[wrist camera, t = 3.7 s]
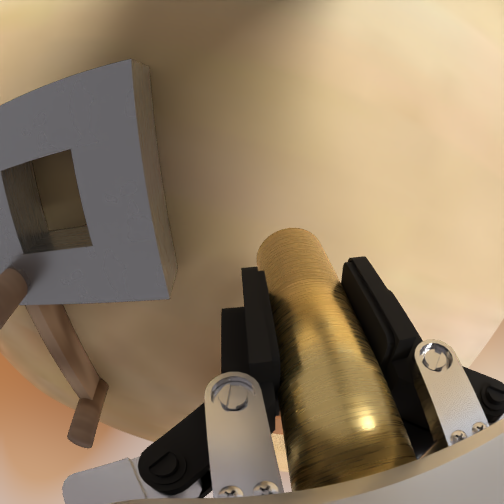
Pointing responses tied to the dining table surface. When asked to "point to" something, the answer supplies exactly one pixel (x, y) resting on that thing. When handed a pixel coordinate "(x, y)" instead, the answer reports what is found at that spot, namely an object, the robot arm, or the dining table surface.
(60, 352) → the brown drawer handle
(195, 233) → the dining table surface
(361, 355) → the pin
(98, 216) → the collar block
